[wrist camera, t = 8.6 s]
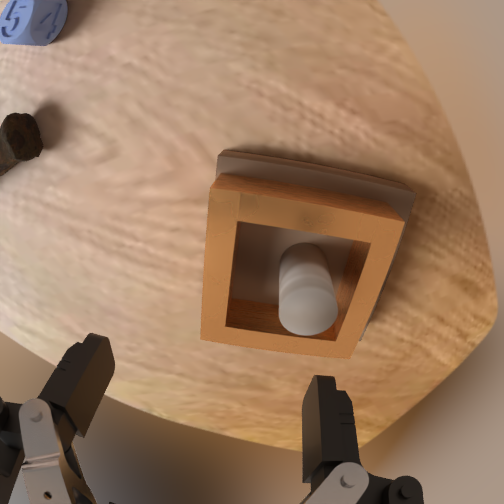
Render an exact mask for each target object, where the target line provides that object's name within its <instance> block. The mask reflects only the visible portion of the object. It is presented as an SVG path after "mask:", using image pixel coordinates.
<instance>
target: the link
mask: <svg viewBox="0 0 504 504" xmlns="http://www.w3.org/2000/svg"><path fill="white" fill-rule="evenodd" d="M241 221H242V222H248V223H255V224H261V225H268V226H274V227H280V228H286V229H293V230H299V231H305V232H311V233H317V234H323V235H329V236H334V237H340V238H346V239H352V240H353V244H352V247H351V250H350V254H349V257H348V260H347V263H346V267H345V270H344V273H343V276H342V279H341V282H340V285H339V288H338V291H337V294H336V297H335V298H336V302H337V306H338V315H337V318H336V320H335V322H334V323H333V324H332V326H330V327H329V328H328V329H327V330H325V331H323V332H321V333H318V334H315V335H306V336H305V335H298V334H295V333H292V332H290V331H288V330H287V329H286V328H285V327H284V326H283V325H282V323H281V322H280V319H279V305H274V304H267V303H260V302H254V301H247V300H241V299H235V298H232V291H233V282H234V274H235V266H236V258H237V250H238V242H239V234H240V226H241ZM404 224H405V222H404V220H403V219H402V218H401V217H400V216H399V215H398V214H397V212H396V211H395V210H394V209H393V208H392V207H391V206H390V205H389V204H388V203H386V202H382V201H377V200H373V199H368V198H364V197H359V196H354V195H349V194H344V193H339V192H334V191H329V190H324V189H318V188H313V187H307V186H302V185H296V184H290V183H284V182H278V181H271V180H265V179H259V178H252V177H245V176H238V175H230V174H223V173H221V174H220V175H219V176H218V178H217V179H216V180H215V182H214V183H213V184H212V186H211V187H210V193H209V205H208V217H207V230H206V244H205V259H204V275H203V293H202V313H201V338H200V339H201V340H206V341H212V342H218V343H224V344H230V345H236V346H242V347H249V348H255V349H262V350H270V351H277V352H285V353H293V354H302V355H311V356H321V357H332V358H344V359H350V358H351V356H352V354H353V351H354V349H355V347H356V345H357V343H358V341H359V339H360V337H361V334H362V332H363V330H364V328H365V325H366V323H367V321H368V319H369V316H370V314H371V312H372V309H373V307H374V305H375V302H376V300H377V297H378V295H379V292H380V290H381V287H382V285H383V282H384V280H385V277H386V275H387V272H388V269H389V267H390V264H391V261H392V259H393V256H394V253H395V250H396V247H397V244H398V242H399V239H400V236H401V233H402V230H403V227H404Z"/></svg>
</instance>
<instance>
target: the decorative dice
mask: <svg viewBox="0 0 504 504" xmlns="http://www.w3.org/2000/svg"><path fill="white" fill-rule="evenodd" d="M67 11H68V8H67V2H66V0H10V2H9V3H8V4H7V5H6V7H5V8H4V10H3V12H2V14H1V17H0V41H1V43H3V44H18V45H35V46H46V45H48V44H49V43H50V42H52V41H53V40H54V39H55V38H56V36H57V35H58V34H59V33H60V31H61V30H62V28H63V26H64V24H65V21H66V18H67Z"/></svg>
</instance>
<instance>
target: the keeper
mask: <svg viewBox="0 0 504 504" xmlns="http://www.w3.org/2000/svg"><path fill="white" fill-rule="evenodd" d="M221 173H223V174H230V175H238V176H245V177H252V178H259V179H265V180H271V181H278V182H284V183H290V184H296V185H302V186H307V187H313V188H318V189H324V190H329V191H334V192H339V193H344V194H349V195H354V196H359V197H364V198H368V199H373V200H377V201H382V202H386V203H388V204H389V205H390V206H391V207H392V208H393V209H394V210H395V211H396V212H397V214H398V215H399V216H400V217H401V218H402V219H403V220H404V222H405V224H404V227H403V230H402V233H401V236H400V239H399V242H398V244H397V247H396V250H395V253H394V256H393V259H392V261H391V264H390V267H389V269H388V272H387V275H386V277H385V280H384V282H383V285H382V287H381V290H380V292H379V295H378V297H377V300H376V302H375V305H374V307H373V309H372V312H371V314H370V316H369V319H368V321H367V323H366V325H365V328H364V330H363V332H362V334H361V337H360V339H359V341H361V339H362V337H363V335H364V333H365V331H366V328H367V326H368V324H369V322H370V319H371V317H372V315H373V313H374V310H375V308H376V306H377V303H378V301H379V298H380V296H381V294H382V291H383V289H384V286H385V284H386V281H387V278H388V276H389V273H390V271H391V268H392V265H393V263H394V260H395V257H396V254H397V252H398V249H399V246H400V243H401V240H402V237H403V234H404V231H405V228H406V225H407V222H408V219H409V216H410V213H411V209H412V206H413V203H414V199H415V196H416V193H415V192H414V191H413V190H412V189H410V188H409V187H408V186H407V185H405V184H402V183H399V182H395V181H391V180H387V179H382V178H378V177H374V176H370V175H365V174H361V173H357V172H352V171H347V170H343V169H338V168H333V167H328V166H323V165H318V164H312V163H307V162H301V161H296V160H290V159H284V158H277V157H271V156H265V155H258V154H251V153H243V152H236V151H228V150H223V151H222V152H221V153H220V154H219V155H218V159H217V169H216V179H217V178H218V176H219V175H220V174H221ZM216 179H215V180H216ZM352 244H353V240H352V239H346V238H340V237H334V236H329V235H323V234H317V233H311V232H305V231H299V230H293V229H286V228H280V227H274V226H268V225H261V224H255V223H248V222H242V221H241V226H240V234H239V242H238V250H237V258H236V266H235V274H234V282H233V291H232V298H235V299H241V300H247V301H254V302H260V303H267V304H274V305H279V319H280V322H281V323H282V325H283V326H284V327H285V328H286V329H287V330H288V331H290V332H292V333H295V334H298V335H305V336H306V335H315V334H318V333H321V332H323V331H325V330H327V329H328V328H329V327H330V326H332V324H333V323H334V322H335V320H336V318H337V315H338V306H337V302H336V298H335V297H336V294H337V291H338V288H339V285H340V282H341V279H342V276H343V273H344V270H345V267H346V263H347V260H348V257H349V254H350V250H351V247H352Z"/></svg>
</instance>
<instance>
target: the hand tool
mask: <svg viewBox="0 0 504 504" xmlns="http://www.w3.org/2000/svg"><path fill="white" fill-rule="evenodd" d="M42 148H43V143H42V141H41V138H40V132H39V129H38V127H37V124H36V122H35V120H34V118H33V117H32V116H31V115H29V114H27V113H24V114H19V113H12V114H10V115H7V116H6V118H5V119H4V121H3V123H2V124H1V127H0V176H2V175H3V174H4V173H6V172H7V171H8V170H9V169H11V168H12V167H13V166H14V165H15V164H16V163H18V162H19V161H28V160H31V159H33V158H34V157H39V155H40V153H41V150H42Z"/></svg>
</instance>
